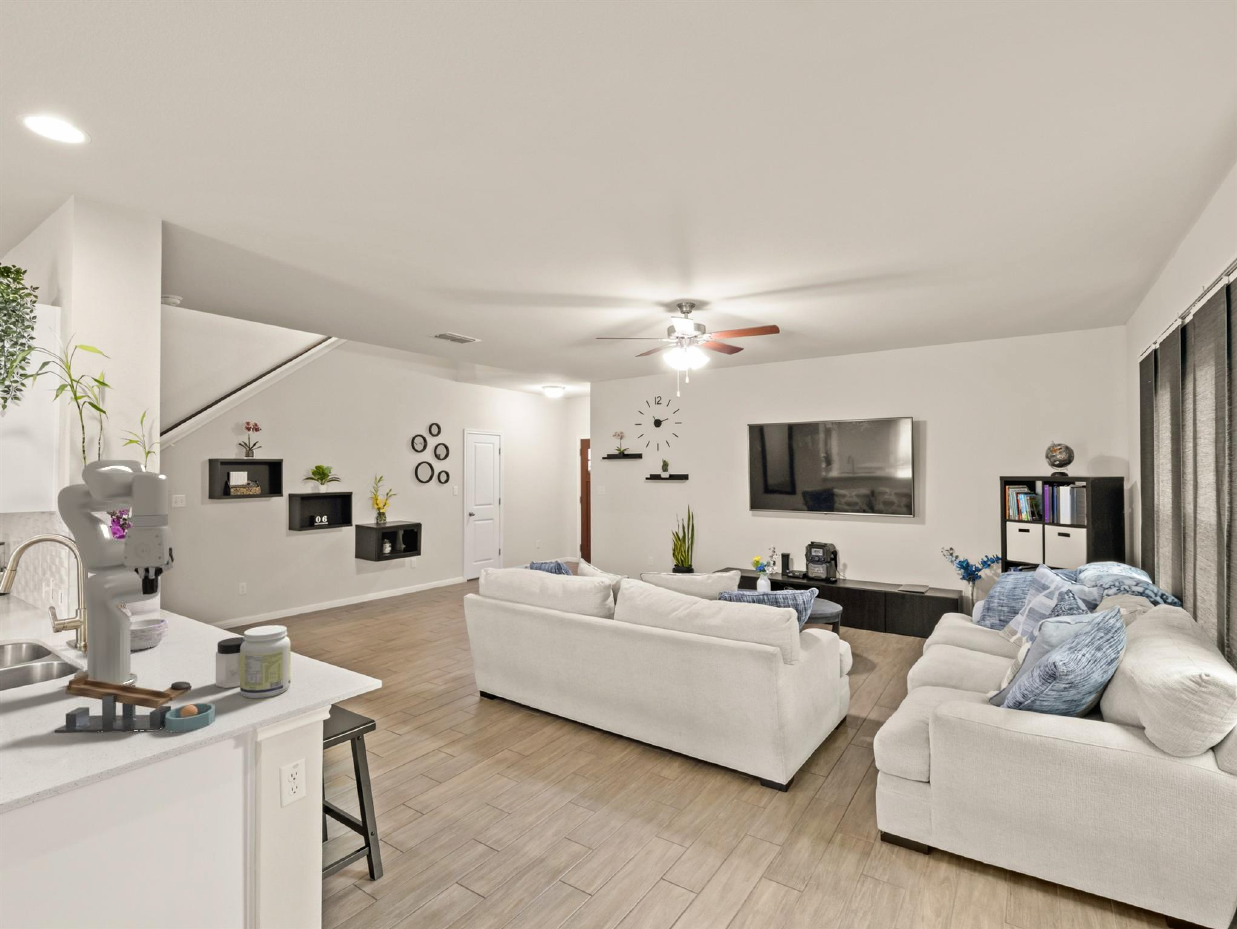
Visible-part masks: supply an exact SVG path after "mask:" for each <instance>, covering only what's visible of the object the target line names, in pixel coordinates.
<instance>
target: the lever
mask: <svg viewBox="0 0 1237 929" xmlns="http://www.w3.org/2000/svg"><path fill="white" fill-rule="evenodd" d="M88 677H89V674H86V673H85V674H83V675H81V676H79V677H76V678H74V677H73V678H72V679H69V680H68V684H67V685H66V689H65V694H66V695H71V696H76V697H82V698H88V699H89V698H90V699H94V700H101V701H102V696H105V695H116V703H119V704H122V703H124V704H131V705H136V706H138V707H144V708H150V709H154V710H155V709H157V708H159V707H161V706H165V705H166V704H168V703H169V702H172V701H175V700H176V699H178V698H179V697H181V696H182V695H185V694H186V693H188V692H190V691H191V690H192V685H191V683H190V682H188V681H176V682H173V683H171V685H170V687H168V688H167V689H165V690H157V689H150V688H147V687H145V688H144V687H140V686H135V687H134V686H128V685H122V684H116V683H110V682H104V681H98V680H92V679H88Z"/></svg>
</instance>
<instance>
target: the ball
mask: <svg viewBox="0 0 1237 929" xmlns="http://www.w3.org/2000/svg"><path fill="white" fill-rule="evenodd" d="M187 705H188V706H185V707H184V708H183V709H182V710H181V712H180V717H181V718H187V717H192V716H196V715H197V712H198V711H197V708H196V707H195V706H193V705H190V704H187Z"/></svg>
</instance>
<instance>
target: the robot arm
mask: <svg viewBox="0 0 1237 929" xmlns="http://www.w3.org/2000/svg"><path fill="white" fill-rule="evenodd" d="M81 477H82V480H83V482H84V483H76V484H71V485H67V486H65V487H63V488H62V489H61V490H60V491H59V492H58V495H57V507H58V512H59V513H58V514H59V516H60V517H61V518H60V519H61V520H62V521H63V523H64V524H65V525H66V527H67V528H68V529H69V531H70V532H71V534H72V536H73V538H74V541H75V544H76V548H77V552H78V555H79V560H80V563H81V565H82V568H83V570H85V572H86V573H88V574H93V575H91V576H88V578H86V579H85V581H84V582H83V584H82V594H83V600H84V604H85V611H86V626H87V627H86V628H87V629H86V632H87V633H86V634H87V635H86V636H87V638H86V639H87V642H86V643H87V646H86V647H87V649H86V650H87V653H86V654H87V655H86V656H87V657H86V659H87V663H86V664H87V666H86V667H87V669H78V670H76V672H75V674H74V675H73V679H74V678H76V677H79V676H81V675H83V674H85V673H86V674H89V677H88V679H92V680H98V681H104V682H110V683H116V684H122V685H133V684H134V683H136V682H137V681H138V675H137V674H136V673H134V672H133V673H131V669H132V668H131V663H132V662H131V659H132V658H131V657H132V656H131V650H130V622H131V619H130V616H129V615H128V614H127V613H126V612H125V611H124V610H122V609H121V608H120V606H122V605H125V604H132V603H137V602H145V601H149V600H153V599H155V598H156V597H158V595H159V594H160V592H161V589H162V588H161V587H162V586H161V585H162V584H161V578H160V577H161V576H162V574H163V573H164V572H167V571H171V570H173V569H174V565H173V563H174V562H175V544H174V537H173V533H172V528H171V526H169V479H168V477H167V475H166V474H164V473H156V472H152V471H150V472H149V471H147V469H146V466H145V465H144V464H143V463H142V462H140V461H138V460H133V459H100V460H99V459H98V460H94V461H91V462H89V463H87V464H86V465H85V466H84V467H83V469H82V471H81ZM129 509H131V515H130V517H127V519H126V521H127V523H129V524H131V527H128V528H127V531H126V535H125V538H115V537H114V535H113V532H112V529H111V526H110V525H109V524H108V523H106V521H104V520H103V519H101V517H98V516H96V515H95V514H93V513H99V512H100V513H101V512H103V513H104V512H120V511H121V512H123V511H127V510H129Z"/></svg>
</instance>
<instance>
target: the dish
mask: <svg viewBox="0 0 1237 929" xmlns="http://www.w3.org/2000/svg"><path fill="white" fill-rule="evenodd" d="M188 705H193V706H195V707H196V708H197V711H198V712H197V715H196V716H192V717H187V718H181V717H180V712H181V710H182V709H183V708H184V707H185V706H188ZM214 722H216V707H215V704H212V703H209V702H197V703H196V702H195V703H192V704H186V705H185V704H184V705H181V706H178V707H175V708H171V711H169V712H167V713H166V726H165V731H167V730H168V732H170V731H172V732H171V733H185V732H190V731H196V730H199V729H203V728H205V727H208V726H209V725H211V724H213V723H214Z"/></svg>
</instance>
